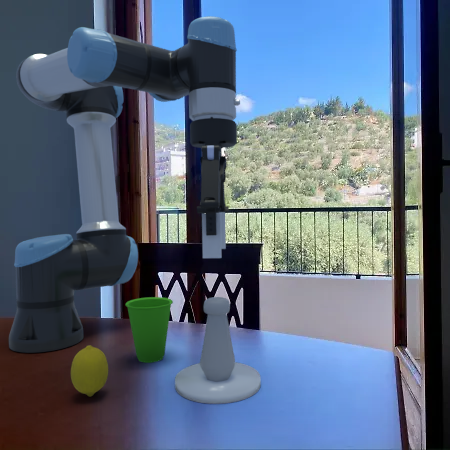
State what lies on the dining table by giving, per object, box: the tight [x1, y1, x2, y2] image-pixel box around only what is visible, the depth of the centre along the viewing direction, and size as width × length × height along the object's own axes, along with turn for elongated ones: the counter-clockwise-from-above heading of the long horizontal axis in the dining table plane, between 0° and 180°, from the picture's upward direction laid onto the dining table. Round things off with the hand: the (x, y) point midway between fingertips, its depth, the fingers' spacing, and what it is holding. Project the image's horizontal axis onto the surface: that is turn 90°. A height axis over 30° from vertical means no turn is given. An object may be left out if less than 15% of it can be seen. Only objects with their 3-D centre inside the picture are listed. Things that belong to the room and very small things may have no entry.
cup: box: [125, 296, 174, 364], centre depth 81 cm, size 9×9×11 cm
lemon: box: [70, 344, 109, 397], centre depth 65 cm, size 6×6×8 cm
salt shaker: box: [199, 296, 236, 382], centre depth 68 cm, size 6×6×13 cm
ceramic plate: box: [174, 361, 262, 405], centre depth 69 cm, size 14×14×1 cm
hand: (215, 253), depth 68 cm, fingers open, 13 cm apart
